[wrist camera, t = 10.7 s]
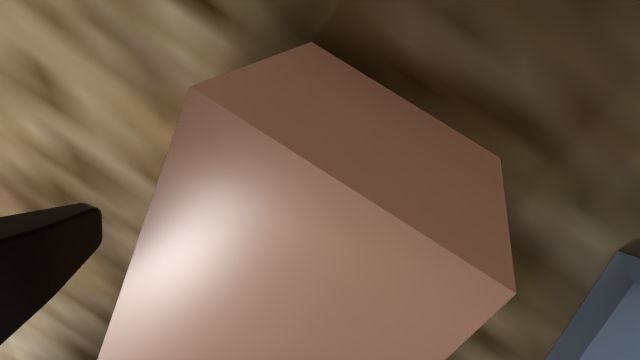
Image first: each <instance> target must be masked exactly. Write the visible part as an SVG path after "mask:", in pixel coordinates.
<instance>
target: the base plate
mask: <svg viewBox="0 0 640 360" xmlns="http://www.w3.org/2000/svg"><path fill="white" fill-rule="evenodd" d="M545 360H640V258H638V257H635V256H632V255H629V254H626V253H623V252H620V251H617V252H616V254H615V255H614V257H613V258H612V260H611V261H610V263H609V264H608V266H607V267H606V269H605V270H604V272H603V273H602V275H601V276H600V278H599V279H598V281H597V282H596V284H595V285H594V287H593V288H592V290H591V291H590V293H589V294H588V296H587V297H586V299H585V300H584V302H583V303H582V305H581V306H580V308H579V309H578V311H577V312H576V314H575V315H574V317H573V319H572V320H571V322H570V323H569V325H568V326H567V328H566V329H565V331H564V332H563V334H562V335H561V337H560V338H559V340H558V341H557V343H556V344H555V346H554V347H553V349H552V350H551V352H550V353H549V355H548V356H547V358H546V359H545Z"/></svg>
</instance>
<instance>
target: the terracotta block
mask: <svg viewBox="0 0 640 360" xmlns="http://www.w3.org/2000/svg"><path fill="white" fill-rule="evenodd" d="M514 295H516V286H515V278H514V269H513V261H512V252H511V244H510V235H509V226H508V218H507V209H506V201H505V192H504V184H503V175H502V167H501V158H499V157H498V156H496V155H494V154H493V153H491V152H490V151H488V150H486V149H485V148H483V147H481V146H480V145H478V144H477V143H475V142H473V141H472V140H470V139H468V138H467V137H465V136H464V135H462V134H460V133H459V132H457V131H455V130H454V129H452V128H451V127H449V126H447V125H446V124H444V123H443V122H441V121H439V120H438V119H436V118H434V117H433V116H431V115H430V114H428V113H426V112H425V111H423V110H421V109H420V108H418V107H417V106H415V105H413V104H412V103H410V102H408V101H407V100H405V99H404V98H402V97H400V96H399V95H397V94H395V93H394V92H392V91H391V90H389V89H387V88H386V87H384V86H382V85H381V84H379V83H378V82H376V81H374V80H373V79H371V78H369V77H368V76H366V75H365V74H363V73H361V72H360V71H358V70H356V69H355V68H353V67H352V66H350V65H348V64H347V63H345V62H343V61H342V60H340V59H339V58H337V57H335V56H334V55H332V54H330V53H329V52H327V51H326V50H324V49H322V48H321V47H319V46H317V45H316V44H314V43H313V42H309V43H307V44H304V45H301V46H299V47H296V48H293V49H290V50H288V51H285V52H282V53H280V54H277V55H274V56H271V57H269V58H266V59H263V60H261V61H258V62H255V63H252V64H250V65H247V66H244V67H242V68H239V69H236V70H233V71H231V72H228V73H225V74H223V75H220V76H217V77H214V78H212V79H209V80H206V81H204V82H201V83H198V84H195V85H193V86H190V88H189V91H188V94H187V97H186V100H185V103H184V106H183V109H182V112H181V115H180V118H179V121H178V124H177V127H176V130H175V133H174V135H173V138H172V141H171V144H170V147H169V150H168V153H167V156H166V159H165V162H164V165H163V168H162V171H161V174H160V177H159V180H158V183H157V186H156V188H155V191H154V194H153V197H152V200H151V203H150V206H149V209H148V212H147V215H146V218H145V221H144V224H143V227H142V230H141V233H140V236H139V239H138V241H137V244H136V247H135V250H134V253H133V256H132V259H131V262H130V265H129V268H128V271H127V274H126V277H125V280H124V283H123V286H122V289H121V292H120V295H119V297H118V300H117V303H116V306H115V309H114V312H113V315H112V318H111V321H110V324H109V327H108V330H107V333H106V336H105V339H104V342H103V345H102V348H101V350H100V353H99V356H98V359H97V360H445V359H447V358H448V357H449V356H450V355H451V354H452V353H453V352H454V351H455V350H456V349H457V348H458V347H459V346H461V345H462V344H463V343H464V342H465V341H466V340H467V339H468V338H469V337H470V336H471V335H472V334H473V333H475V332H476V331H477V330H478V329H479V328H480V327H481V326H482V325H483V324H484V323H485V322H486V321H487V320H489V319H490V318H491V317H492V316H493V315H494V314H495V313H496V312H497V311H498V310H499V309H500V308H502V307H503V306H504V305H505V304H506V303H507V302H508V301H509V300H510V299H511V298H512V297H513V296H514Z"/></svg>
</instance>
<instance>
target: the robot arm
mask: <svg viewBox="0 0 640 360" xmlns="http://www.w3.org/2000/svg"><path fill="white" fill-rule="evenodd" d="M101 241H102V214H101V211H100V210H99V209H98V208H96V207H94V206H91V205H89V204H86V203H78V204H72V205H66V206H61V207H55V208H49V209H44V210H38V211H32V212H27V213H21V214H15V215H10V216H4V217H0V345H1V344H2V343H3V342H4V341H5V340H7V339H8V338H9V337H10V336H11V335H12V334H13V333H14V332H15V331H16V330H18V329H19V328H20V327H21V326H22V325H23V324H24V323H25V322H26V321H27V320H29V319H30V318H31V317H32V316H33V315H34V314H35V313H36V312H37V311H38V310H40V309H41V308H42V307H43V306H44V305H45V304H46V303H47V302H48V301H49V300H50V299H51V298H52V297H53V296H54V295H55V294H56V293H57V292H58V291H59V290H60V289H61V288H62V287H63V286H64V285H65V283H66V282H67V281H68V280H69V279H70V278H71V277H72V276H73V275H74V274H75V273H76V271H77V270H78V269H79V268H80V267H81V266H82V265H83V264H84V263H85V262H86V260H87V259H88V258H89V257H90V256H91V255H92V254H93V253H94V252H95V251H96V250H97V248H98V247H99V245H100V244H101Z"/></svg>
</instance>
